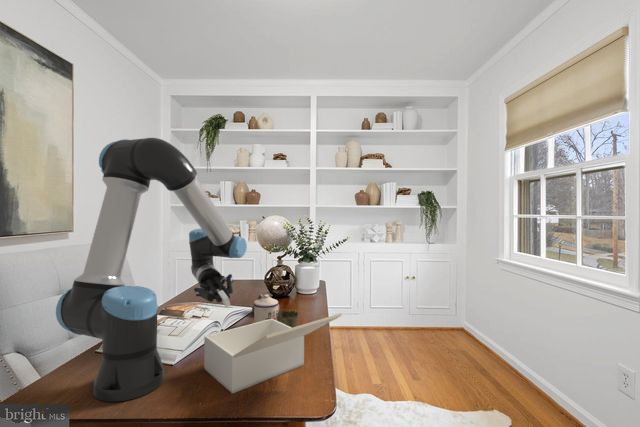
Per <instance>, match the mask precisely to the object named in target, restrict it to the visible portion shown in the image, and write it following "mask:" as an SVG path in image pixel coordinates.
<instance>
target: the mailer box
mask: <svg viewBox="0 0 640 427" xmlns="http://www.w3.org/2000/svg"><path fill="white" fill-rule="evenodd" d="M289 328H291V327H289V326H287V325H285V324H283V323H281V322H278V321H276V320H274V319H269V320H265V321H261V322H257V323H254V322H253V323H251V324H250V323H249V324H245V325H241V326H238V327H234V328H230V329H226V330H222V331H219V332H214V333H211V334H208V335H204V337H203V338H204V339H203V340H204V344H203V345H204V349H203V350H204V352H203V353H204V354H203V356H204V358H203V359H204V360H203V366H204V367H203V369H204V370H205V371H206V372H207V373H208V374H210V375H211V376H212V378H214V379H215V380H216V381H217V382H218V383H219V384H221V386H223V387H224V388H225V389H226V390H227V391H229V392H230V394H236V393H237V392H240V391H242V390H245V389H248V388H250V387H253V386H255V385H258V384H260V383H263V382H265V381H268V380H270V379H272V378H275V377H277V376H280V375H283V374H286V373H287V372H290V371H292V370H295V369H297V368H299V367H300V368H301V367H302V366H304V365H305V335H304V336H301V337H298V338H295V339H292V340H288V341H285V342H282V343H279V344H276V345H273V346H270V347H267V348H264V349H261V350H258V351H254V352H251V353H248V354H245V355H242V356H239V357H236V358H234V356H233V355H235V354H237V353H238V352H240V351H242V350H243V349H245V348H246V347H248V346H250V345H251V344H253V343H254V342H256V341H258V340H259V339H261V338H263V337H264V336H266V335H269V334H272V333H276V332H279V331H282V330H286V329H289Z"/></svg>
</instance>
